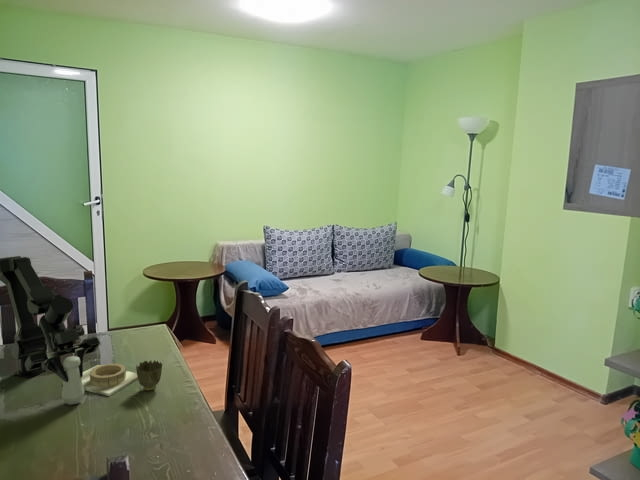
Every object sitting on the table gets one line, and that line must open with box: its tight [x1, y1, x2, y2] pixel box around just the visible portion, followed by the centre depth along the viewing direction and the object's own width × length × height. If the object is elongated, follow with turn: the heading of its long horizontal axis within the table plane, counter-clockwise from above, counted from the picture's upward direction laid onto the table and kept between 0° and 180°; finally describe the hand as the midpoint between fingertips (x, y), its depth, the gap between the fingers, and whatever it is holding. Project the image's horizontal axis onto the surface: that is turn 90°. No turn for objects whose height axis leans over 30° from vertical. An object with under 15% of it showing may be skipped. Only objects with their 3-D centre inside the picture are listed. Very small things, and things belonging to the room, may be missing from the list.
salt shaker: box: [61, 355, 85, 406], centre depth 131 cm, size 6×6×13 cm
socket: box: [62, 363, 138, 397], centre depth 145 cm, size 18×14×4 cm
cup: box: [135, 360, 163, 393], centre depth 141 cm, size 8×7×8 cm
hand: (74, 379), depth 130 cm, fingers closed on salt shaker, 3 cm apart
